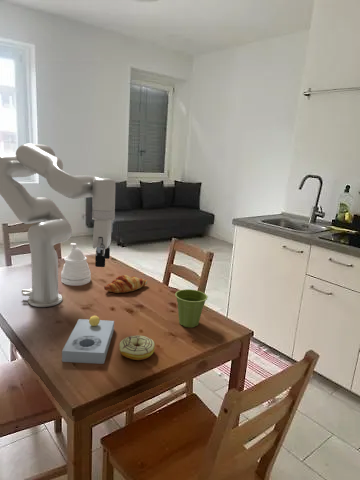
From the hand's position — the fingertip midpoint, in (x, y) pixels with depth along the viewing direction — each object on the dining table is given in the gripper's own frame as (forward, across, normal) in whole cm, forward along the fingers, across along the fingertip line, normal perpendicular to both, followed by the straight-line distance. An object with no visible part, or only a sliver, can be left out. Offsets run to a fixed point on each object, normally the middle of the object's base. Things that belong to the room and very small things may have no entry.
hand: (102, 262), depth 125 cm
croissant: (+22, -26, +7) cm, 34 cm away
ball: (+18, +12, 0) cm, 22 cm away
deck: (+22, +18, 0) cm, 28 cm away
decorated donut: (+22, +20, +11) cm, 32 cm away
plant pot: (+22, 0, +32) cm, 39 cm away
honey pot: (+22, -34, -18) cm, 44 cm away
